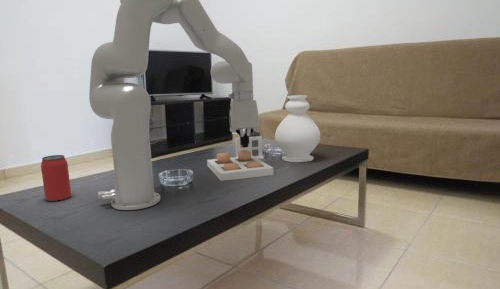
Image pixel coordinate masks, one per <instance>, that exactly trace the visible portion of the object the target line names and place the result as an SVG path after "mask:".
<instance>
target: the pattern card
mask: <svg viewBox="0 0 500 289" xmlns="http://www.w3.org/2000/svg"><path fill="white" fill-rule="evenodd" d="M234 142H235V144H234V145H235V157H238V152H239V151H251V156H254V157H256V158H257V159H259V160H264V159H265V157H264V156H263V154H262V149H263V138H262V135H260V136H258V137H249V144H248V147H245V148H244V147H242V145H241V144H240V137H236V138H234Z"/></svg>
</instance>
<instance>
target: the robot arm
mask: <svg viewBox="0 0 500 289" xmlns="http://www.w3.org/2000/svg"><path fill="white" fill-rule="evenodd" d="M119 1H120V5H119V8H118V11H117V14H116V19H115V25H114V26H115V27H114V32H113V33H114V34H113V39H112V41H110V42H105V43H102V44H100V45H99V46H98V47H97V48H96V50H95V51H94V53H93V55H92V58H91V64H90V65H91V66H90V79H89V94H88V95H89V105H90V108H91V110H92V112H93V113H94V114H95V115H97V116H98V117H99V118H101V119H105V120H113V122H112V127H111V132H110V139H111V140H110V143H111V152H112V160H113V162H112V163H113V164H112V165H113V173H114V183H115V185H114V188H111V189H110V190H99V191H97V196H98V199H102V201H107V200H110V205H111V207H112V208H113V209H115V210H118V211H119V210H120V211H137V210H141V209H146V208H150V207H153V206H156V205H157V204H158V203H159V202H160V201H161V194H159V193H158V192H155V188H154V186H155V185H154V177H153V174H154V173H153V163H152V150H151V141H150V117H151V116H150V115H151V110H152V109H151V105H152V104H151V103H152V102H151V97H150V95H149V93H148V91H147V90H146V89H145V88H144V87H143V86H142V85H140V84H137V83H133V82H125V79H133V78H140V77H141V76H143V75H144V74H145V73H146V71H147V69H148V64H149V54H150V53H149V52H150V39H151V38H150V37H151V31H152V25H153V23H155V24H161V25H173V24H179V25H180V27H181V28H182V29H183V31H184V32H185V34H186V35H187V37H188V39H189V40H190V41H191V43H192V45H194V47H195V48H197V49H199V50H202V51H203V52H207V53H210V54H213V55H215V56H218V57H219V58H221V59H223V60H221V61H217V62H215V63H214V64H213V65H212V66H211V68H210V76H211V79H212V81H214V82H216V83H218V84H221V85H222V84H224V85H225V84H231V93H230V94H228V99H231V101H230V104H229V105H230V106H229V131H230V132H231V133H236V134H237V135H238V136H239V138H240V144H241V145H242V147H244V148H245V147H248V144H249V136H250V134H251V133H252V132H253V131H255V130H256V131H258V130H259V125H260V120H259V119H260V118H259V111H258V110H259V109H258V105H257V100H256V99H254V79H253V78H254V77H253V64H252V62H250V61H249V59H248V58H247V56H246V54H245V52H244V50H243V49H242V48H241V47H240V46H239V45H238V44H237V43H236V42H234V41H233V40H232V39H231V38H229V37H228V36H226V35H224V34H223V33H221V32H220V31H218V29H217V27H215V23H213V21H212V20H211V18H210V15H208V13H207V11H206V9H205V8H204V6H203V5H202V3H201V1H200V0H119Z"/></svg>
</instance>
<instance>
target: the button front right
mask: <svg viewBox="0 0 500 289" xmlns="http://www.w3.org/2000/svg"><path fill="white" fill-rule="evenodd" d="M246 166H247V168H256V167H260V162H258V161H250V162H247V163H246Z"/></svg>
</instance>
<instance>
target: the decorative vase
mask: <svg viewBox="0 0 500 289" xmlns="http://www.w3.org/2000/svg"><path fill="white" fill-rule="evenodd" d="M287 99H289V100H288V101H287V102H285V105H284V108H285V110H286V111H287V112H288V114H287V115H286V116H285V117H284V118H283V119H282V120H281V121H280V123H279V124H278V126H277V127H276V129H275V134H274V140H275V143H276V144H277V146H278V147H279V148H280V150H281V151H282V152H283V153H284V155H283V156H281V160H282V161H285V162H288V163H289V162H291V163H304V162H305V163H307V162H311V161H313V160H314V155H311V153H312V152H313V151H314V150H315V148H316V147H317V146H318V144H319V143H320V140H321V131H320V129H319V127H318V125H317V124H316V122H315V121H314V120H313V119H312V118H311V117H310V116H309V114H307V113H306V112H307V111H308V110H309V109H310V107H311V106H310V103H309V101H307V100H306V99H308V95H307V94H306V95H304V94H292V95H291V94H290V95H287Z"/></svg>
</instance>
